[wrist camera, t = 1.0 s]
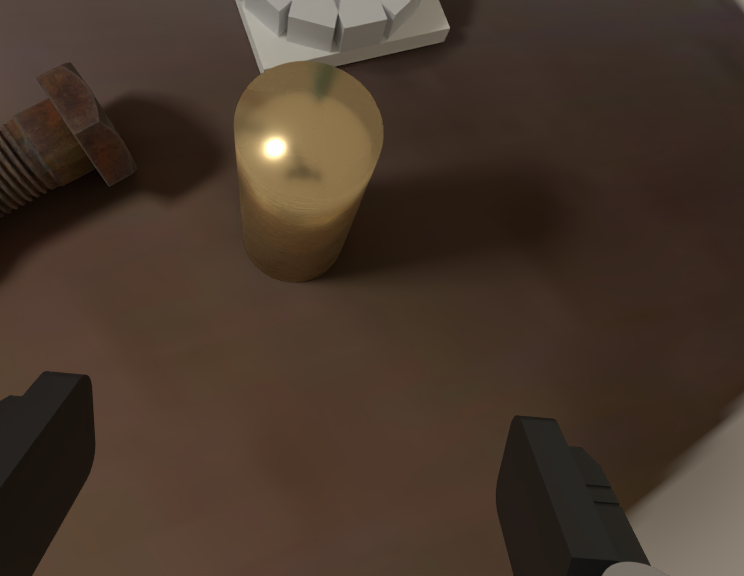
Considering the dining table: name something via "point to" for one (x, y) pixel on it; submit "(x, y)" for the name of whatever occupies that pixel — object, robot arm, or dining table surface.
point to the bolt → (59, 142)
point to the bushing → (303, 165)
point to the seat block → (338, 29)
